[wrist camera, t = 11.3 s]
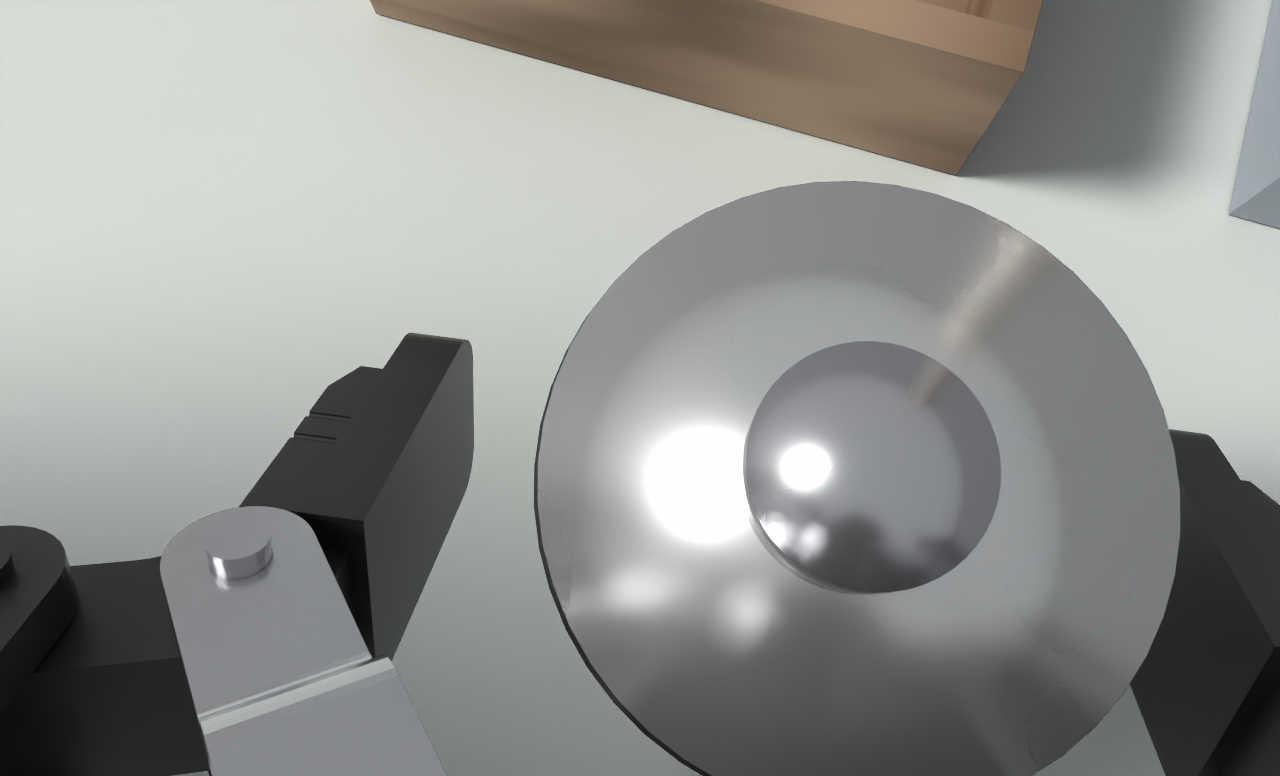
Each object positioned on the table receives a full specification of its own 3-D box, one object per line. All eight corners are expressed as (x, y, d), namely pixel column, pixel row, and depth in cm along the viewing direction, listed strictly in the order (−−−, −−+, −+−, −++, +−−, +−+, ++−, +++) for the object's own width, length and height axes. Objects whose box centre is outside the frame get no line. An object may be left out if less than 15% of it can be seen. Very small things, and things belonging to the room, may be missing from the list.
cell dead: (573, 648, 16) (415, 702, 6) (656, 394, 17) (642, 63, 7) (838, 737, 16) (1159, 960, 6) (909, 473, 17) (1295, 243, 6)
